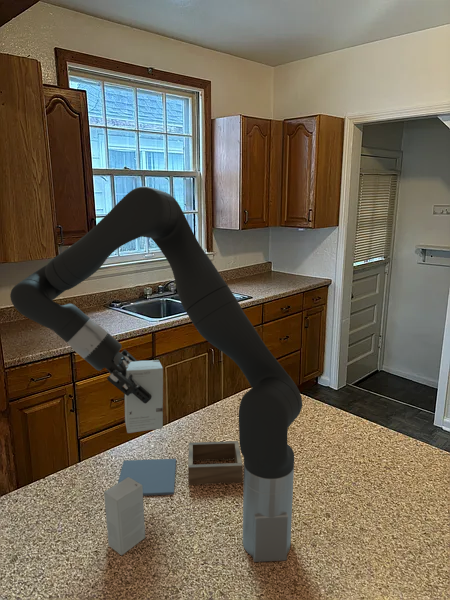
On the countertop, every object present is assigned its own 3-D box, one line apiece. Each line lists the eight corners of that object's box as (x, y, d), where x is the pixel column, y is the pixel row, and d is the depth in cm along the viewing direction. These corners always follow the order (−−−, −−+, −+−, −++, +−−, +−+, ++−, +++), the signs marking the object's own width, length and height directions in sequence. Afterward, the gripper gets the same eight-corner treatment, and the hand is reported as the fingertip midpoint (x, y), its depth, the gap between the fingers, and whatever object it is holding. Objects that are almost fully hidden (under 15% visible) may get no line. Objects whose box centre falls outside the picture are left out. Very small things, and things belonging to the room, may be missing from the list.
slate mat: (173, 494, 101) (173, 492, 101) (115, 496, 100) (114, 494, 100) (176, 460, 113) (176, 458, 113) (123, 462, 112) (123, 460, 112)
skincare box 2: (131, 528, 91) (129, 475, 88) (146, 538, 88) (143, 484, 85) (106, 545, 86) (103, 491, 83) (120, 557, 83) (117, 501, 81)
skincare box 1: (127, 434, 99) (124, 371, 96) (124, 421, 105) (121, 361, 101) (164, 428, 102) (163, 367, 98) (160, 416, 107) (159, 357, 104)
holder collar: (242, 482, 105) (242, 465, 104) (188, 484, 104) (188, 467, 103) (238, 456, 115) (238, 440, 114) (189, 458, 114) (188, 442, 113)
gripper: (99, 343, 91) (159, 395, 94) (112, 323, 105) (164, 369, 108) (74, 368, 91) (135, 419, 95) (90, 345, 105) (142, 390, 109)
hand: (150, 392), depth 102 cm, fingers closed on skincare box 1, 6 cm apart
